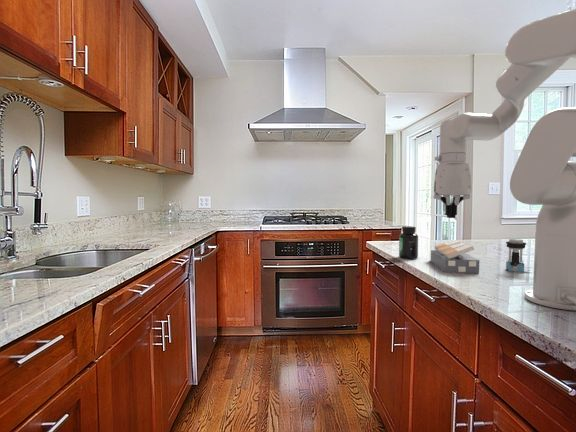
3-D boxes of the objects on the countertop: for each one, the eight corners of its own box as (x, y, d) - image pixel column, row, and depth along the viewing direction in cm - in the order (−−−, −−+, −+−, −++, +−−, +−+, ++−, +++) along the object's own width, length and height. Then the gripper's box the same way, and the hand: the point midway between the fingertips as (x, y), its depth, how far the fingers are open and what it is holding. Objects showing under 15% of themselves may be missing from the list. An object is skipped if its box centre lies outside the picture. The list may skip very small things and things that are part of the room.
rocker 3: (474, 249, 104) (472, 245, 104) (448, 258, 106) (447, 254, 106) (469, 247, 108) (467, 243, 108) (445, 256, 110) (443, 252, 110)
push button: (529, 270, 107) (530, 239, 106) (531, 274, 102) (532, 241, 102) (504, 268, 110) (505, 238, 110) (505, 271, 106) (506, 240, 105)
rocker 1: (461, 244, 116) (460, 241, 116) (438, 251, 118) (437, 247, 118) (458, 243, 120) (456, 239, 120) (435, 249, 122) (434, 245, 122)
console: (479, 273, 103) (479, 256, 103) (444, 272, 105) (445, 255, 105) (459, 261, 121) (460, 247, 121) (430, 260, 123) (431, 246, 123)
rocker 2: (467, 247, 110) (466, 243, 110) (443, 254, 112) (441, 250, 112) (463, 245, 114) (462, 241, 114) (439, 252, 116) (438, 248, 116)
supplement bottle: (399, 259, 127) (399, 227, 126) (398, 255, 133) (399, 225, 133) (418, 259, 125) (419, 227, 124) (417, 256, 131) (417, 226, 131)
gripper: (430, 159, 104) (429, 218, 105) (482, 157, 101) (480, 218, 102) (424, 161, 111) (423, 216, 112) (473, 160, 109) (471, 216, 110)
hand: (451, 217), depth 107 cm, fingers closed
